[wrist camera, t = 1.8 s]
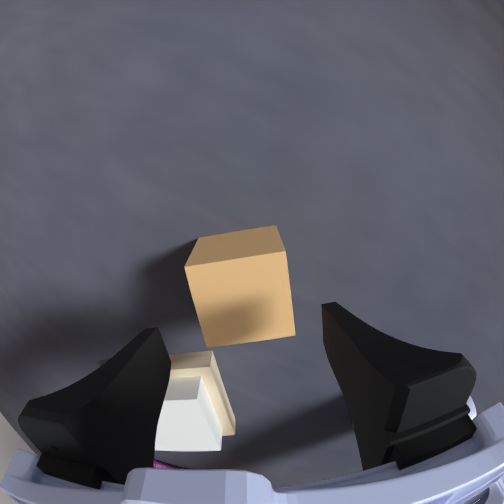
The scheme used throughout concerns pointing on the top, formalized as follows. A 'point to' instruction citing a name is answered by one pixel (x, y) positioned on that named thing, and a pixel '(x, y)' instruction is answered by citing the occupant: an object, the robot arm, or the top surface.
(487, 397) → the top surface
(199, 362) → the maple base slab
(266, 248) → the tan cube
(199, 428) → the off-white slab
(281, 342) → the top surface
